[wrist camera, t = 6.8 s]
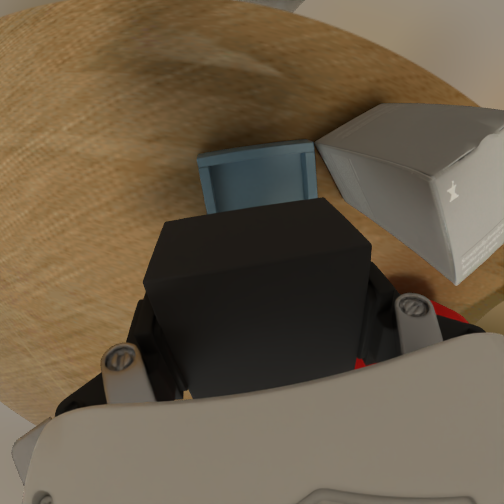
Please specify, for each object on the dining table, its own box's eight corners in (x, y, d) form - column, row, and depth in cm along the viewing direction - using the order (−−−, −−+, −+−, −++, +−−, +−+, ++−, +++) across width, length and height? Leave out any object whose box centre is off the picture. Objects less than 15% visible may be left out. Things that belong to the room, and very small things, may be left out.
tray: (198, 154, 23) (196, 158, 21) (306, 138, 23) (314, 141, 22) (228, 302, 30) (229, 314, 28) (314, 286, 31) (319, 298, 29)
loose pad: (164, 221, 11) (141, 282, 7) (324, 196, 11) (372, 244, 7) (199, 339, 13) (198, 409, 10) (323, 317, 14) (352, 381, 10)
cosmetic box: (342, 200, 26) (449, 304, 12) (306, 132, 23) (426, 183, 9) (410, 158, 25) (538, 224, 11) (383, 92, 22) (529, 111, 8)
